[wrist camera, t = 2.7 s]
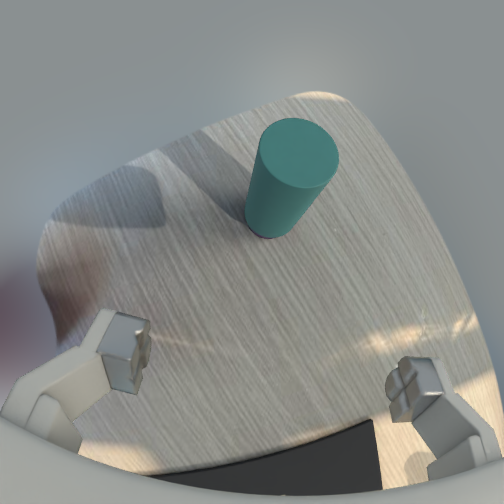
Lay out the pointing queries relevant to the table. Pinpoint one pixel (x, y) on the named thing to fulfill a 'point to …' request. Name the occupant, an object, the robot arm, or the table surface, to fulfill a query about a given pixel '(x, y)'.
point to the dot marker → (288, 175)
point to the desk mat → (299, 468)
